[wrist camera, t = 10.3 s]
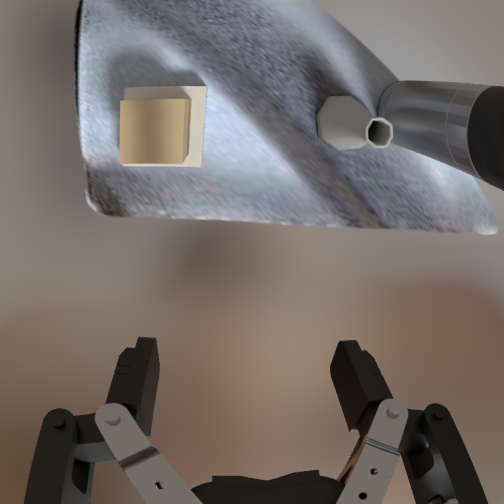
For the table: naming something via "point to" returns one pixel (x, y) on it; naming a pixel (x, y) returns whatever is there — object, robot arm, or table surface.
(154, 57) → the table surface
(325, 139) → the flask
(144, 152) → the oak block
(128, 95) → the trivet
